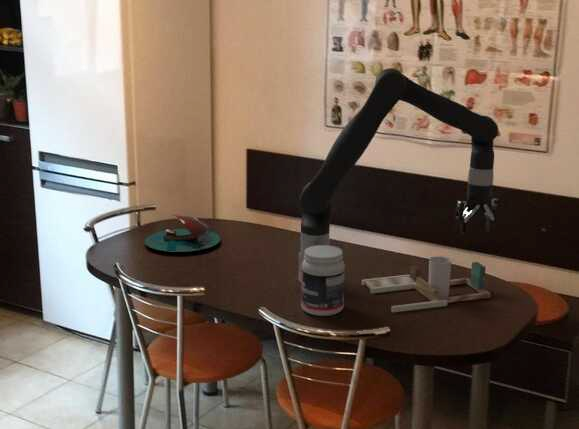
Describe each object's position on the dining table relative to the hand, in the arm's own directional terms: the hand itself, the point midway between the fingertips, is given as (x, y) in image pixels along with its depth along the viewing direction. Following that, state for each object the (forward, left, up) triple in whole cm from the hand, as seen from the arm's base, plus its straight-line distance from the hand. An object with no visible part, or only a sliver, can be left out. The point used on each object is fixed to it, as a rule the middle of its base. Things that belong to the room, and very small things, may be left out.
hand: (476, 232), depth 252 cm
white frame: (-9, -2, -19) cm, 21 cm away
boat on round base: (-80, +72, -19) cm, 110 cm away
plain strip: (-23, +10, -19) cm, 32 cm away
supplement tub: (-51, -2, -19) cm, 55 cm away
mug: (-12, -2, -19) cm, 23 cm away
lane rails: (-23, +2, -19) cm, 30 cm away
